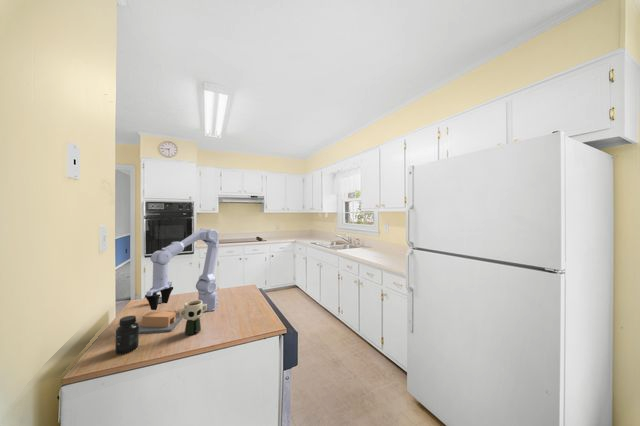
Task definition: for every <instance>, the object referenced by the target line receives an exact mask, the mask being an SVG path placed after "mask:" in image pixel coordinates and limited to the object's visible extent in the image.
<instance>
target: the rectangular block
mask: <svg viewBox="0 0 640 426" xmlns="http://www.w3.org/2000/svg"><path fill="white" fill-rule="evenodd" d="M176 315H177V313H176V311H175V312H174V311H169V312H168V311H149V312H147V313H146V314H144V315H143V316H141V325H142V326H146V327H169V326H170V323H174V322H175V318H176Z"/></svg>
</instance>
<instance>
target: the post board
mask: <svg viewBox="0 0 640 426" xmlns="http://www.w3.org/2000/svg"><path fill="white" fill-rule="evenodd" d="M182 320H183V317H179V316H178V317H175V322H174V323H170V326H169V327H146V326H142V324H139V335H142V334H154V333H156V334H157V333H169V332H172V331H173V330H174V329H175V328H176V326H178V325H179V323H180V322H182Z"/></svg>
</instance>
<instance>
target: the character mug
mask: <svg viewBox="0 0 640 426" xmlns="http://www.w3.org/2000/svg"><path fill="white" fill-rule="evenodd" d="M202 307H204V310H202ZM206 310H207V304H203V303H202V301H201V300H198V299H194V300H193V299H192V300H189V301H187V302H185V303H184V308H182V309H180V310H179V311H178V312H179V315H178V317H182V318H184V320H186V323H185V328H184V334H186V335H194V333H195V334H198V333H200V332H201V330H202V327H201V326H202V325H201V319H200V318H201V317H202V316H203V313H204V312H207V311H206Z"/></svg>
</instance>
